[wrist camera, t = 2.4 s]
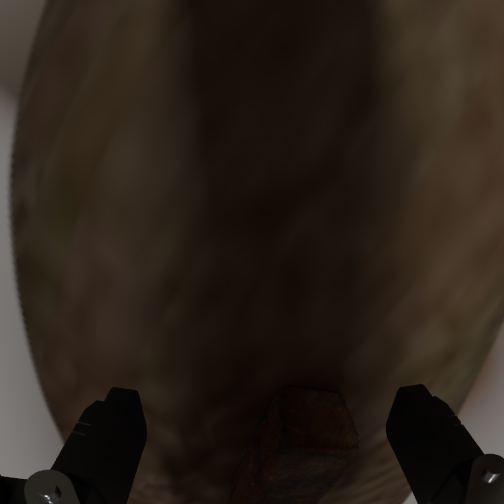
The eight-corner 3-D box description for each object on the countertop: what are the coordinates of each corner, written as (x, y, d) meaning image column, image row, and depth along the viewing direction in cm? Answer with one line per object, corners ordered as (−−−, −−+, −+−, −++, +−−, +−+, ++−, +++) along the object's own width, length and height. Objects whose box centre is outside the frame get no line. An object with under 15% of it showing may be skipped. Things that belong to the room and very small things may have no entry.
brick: (273, 379, 15) (281, 447, 11) (343, 388, 16) (366, 451, 11) (228, 482, 18) (226, 534, 14) (281, 488, 18) (286, 538, 14)
